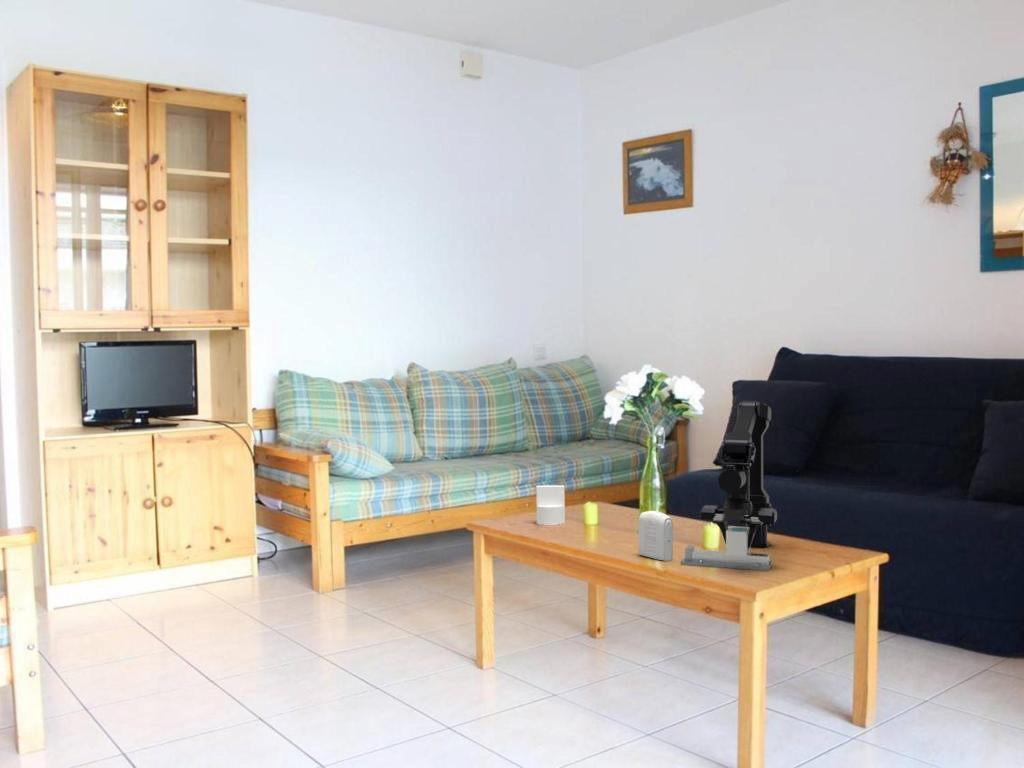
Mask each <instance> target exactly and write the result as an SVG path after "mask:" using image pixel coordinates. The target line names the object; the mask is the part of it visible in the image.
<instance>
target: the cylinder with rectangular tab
mask: <svg viewBox="0 0 1024 768" xmlns="http://www.w3.org/2000/svg"><path fill="white" fill-rule="evenodd" d="M535 487H536V488H535V493H536V494H535V496H536V497H535V499H536V501H535V502H536V504H535V506H536V524H537V523H538V524H544V525H557V524H562V523H565V524H566V518H565V517H566V508H565V507H566V506H565V504H566V503H565V500H566V499H565V498H566V497H565V485H563V484H561V485H560V484H559V485H558V484H557V485H555V484H554V485H551V484H550V485H536V486H535Z"/></svg>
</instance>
